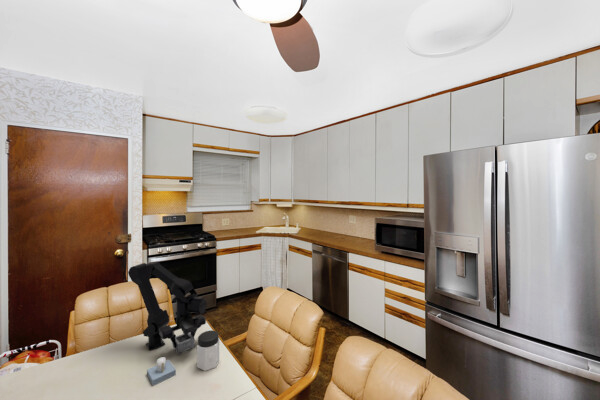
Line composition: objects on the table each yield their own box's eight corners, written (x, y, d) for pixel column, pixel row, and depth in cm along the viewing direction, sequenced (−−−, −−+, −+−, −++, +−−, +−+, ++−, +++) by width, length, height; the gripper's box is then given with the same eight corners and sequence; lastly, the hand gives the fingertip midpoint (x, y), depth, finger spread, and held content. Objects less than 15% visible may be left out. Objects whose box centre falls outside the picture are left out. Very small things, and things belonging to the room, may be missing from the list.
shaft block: (146, 374, 97) (146, 359, 97) (168, 364, 103) (168, 350, 102) (152, 385, 91) (152, 369, 91) (175, 374, 97) (175, 359, 97)
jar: (199, 373, 97) (199, 344, 97) (195, 362, 104) (195, 334, 104) (222, 365, 102) (222, 337, 102) (216, 354, 109) (216, 328, 109)
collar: (172, 346, 112) (172, 337, 112) (188, 340, 117) (188, 331, 117) (178, 353, 107) (178, 344, 107) (194, 346, 112) (194, 338, 112)
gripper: (167, 324, 100) (167, 362, 100) (211, 309, 113) (211, 343, 113) (158, 315, 108) (158, 350, 108) (200, 302, 121) (200, 333, 121)
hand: (183, 344), depth 112 cm, fingers closed on collar, 7 cm apart
